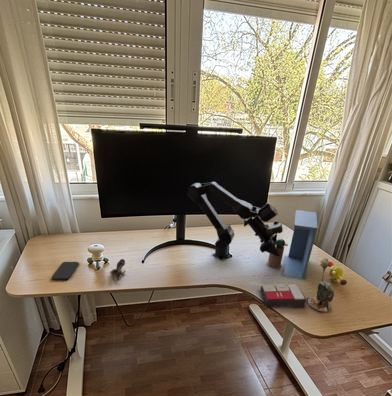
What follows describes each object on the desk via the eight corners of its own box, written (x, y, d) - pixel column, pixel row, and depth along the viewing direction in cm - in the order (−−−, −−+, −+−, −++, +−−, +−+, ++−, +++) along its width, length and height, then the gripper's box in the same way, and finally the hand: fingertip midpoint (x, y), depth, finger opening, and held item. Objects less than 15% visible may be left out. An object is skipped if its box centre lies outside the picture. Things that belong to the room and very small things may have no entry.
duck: (267, 266, 139) (271, 240, 132) (268, 261, 144) (273, 235, 136) (282, 269, 137) (288, 242, 130) (283, 263, 142) (289, 237, 135)
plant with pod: (312, 315, 108) (327, 268, 97) (305, 298, 118) (317, 253, 107) (334, 317, 108) (351, 269, 97) (325, 299, 117) (340, 254, 107)
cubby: (283, 275, 132) (294, 224, 119) (286, 256, 149) (296, 209, 136) (303, 279, 130) (317, 228, 117) (304, 259, 147) (316, 212, 134)
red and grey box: (260, 283, 119) (297, 282, 119) (259, 292, 121) (295, 291, 121) (266, 299, 110) (306, 298, 110) (265, 308, 112) (304, 307, 112)
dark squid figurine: (131, 276, 126) (129, 263, 132) (121, 266, 121) (119, 253, 127) (117, 285, 127) (115, 272, 133) (106, 276, 122) (105, 262, 128)
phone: (79, 261, 136) (68, 278, 123) (79, 263, 136) (69, 280, 123) (63, 261, 135) (50, 278, 123) (63, 263, 136) (51, 279, 123)
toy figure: (320, 270, 137) (324, 257, 134) (332, 271, 137) (336, 258, 134) (334, 292, 122) (339, 278, 118) (347, 292, 122) (352, 278, 118)
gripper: (271, 224, 122) (293, 252, 125) (275, 210, 137) (295, 236, 140) (250, 239, 128) (271, 265, 131) (256, 224, 143) (275, 248, 146)
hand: (279, 253), depth 137 cm, fingers closed on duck, 6 cm apart
